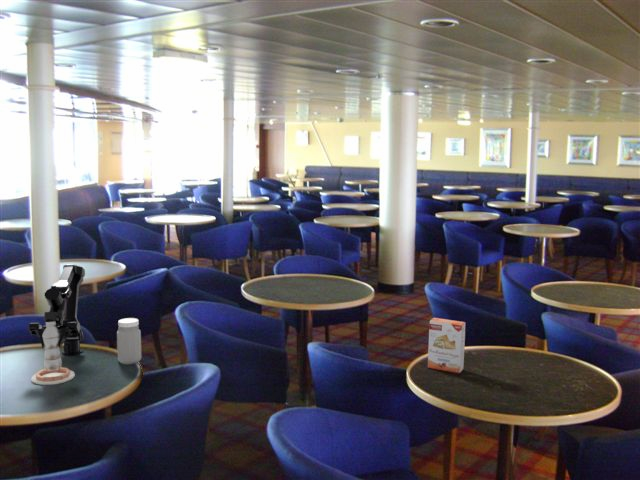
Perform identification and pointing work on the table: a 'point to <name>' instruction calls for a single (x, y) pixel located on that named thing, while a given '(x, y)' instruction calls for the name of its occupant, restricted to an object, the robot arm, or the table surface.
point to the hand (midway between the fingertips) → (50, 347)
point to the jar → (128, 341)
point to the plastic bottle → (51, 346)
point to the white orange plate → (53, 376)
